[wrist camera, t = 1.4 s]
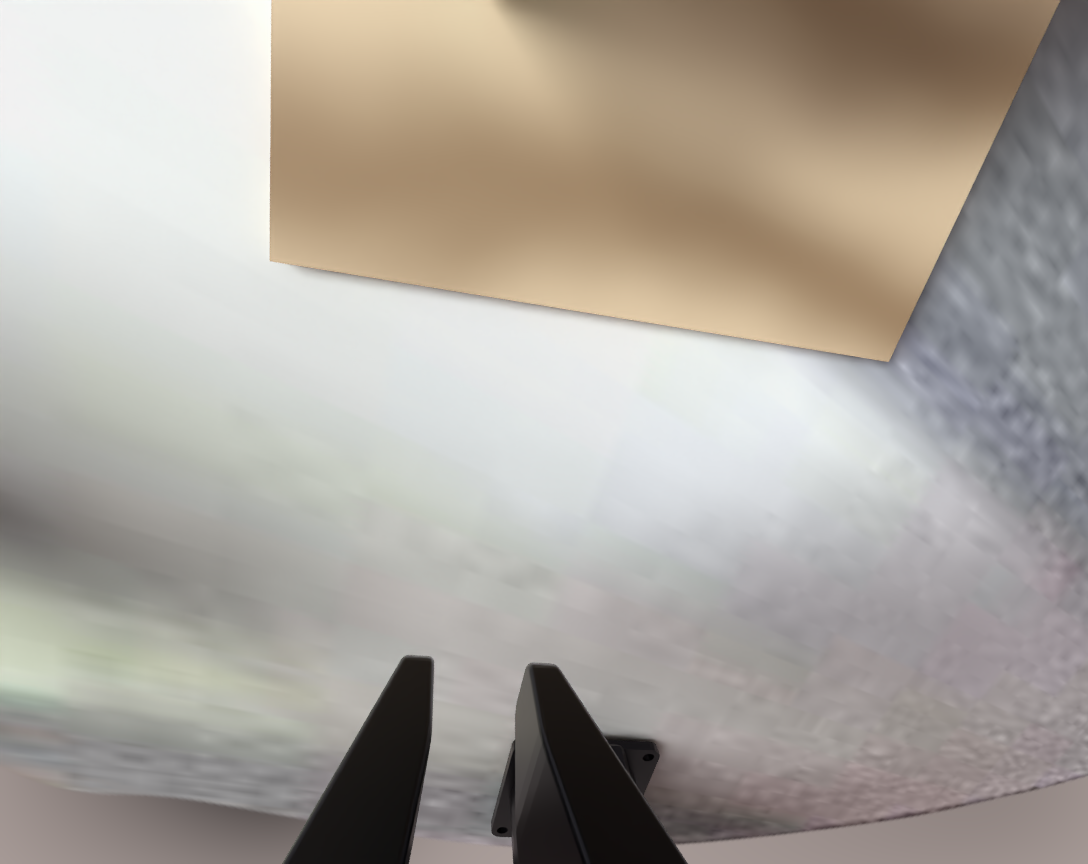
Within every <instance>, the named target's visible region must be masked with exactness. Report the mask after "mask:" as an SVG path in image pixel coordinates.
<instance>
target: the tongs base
mask: <svg viewBox="0 0 1088 864" xmlns="http://www.w3.org/2000/svg"><path fill="white" fill-rule="evenodd" d="M1059 2H1060V0H272V4H271V148H270V261H273V262H279V263H285V264H291V265H297V266H303V267H309V268H315V269H322V270H328V271H334V272H340V273H346V274H352V275H358V276H365V277H371V278H377V279H383V280H389V281H395V282H401V283H408V284H414V285H420V286H426V287H432V288H438V289H444V290H450V291H457V292H463V293H469V294H475V295H481V296H487V297H493V298H500V299H506V300H512V301H518V302H524V303H530V304H536V305H543V306H549V307H555V308H561V309H567V310H573V311H579V312H585V313H592V314H598V315H604V316H610V317H616V318H622V319H628V320H635V321H641V322H647V323H653V324H659V325H665V326H671V327H678V328H684V329H690V330H696V331H702V332H708V333H714V334H720V335H727V336H733V337H739V338H745V339H751V340H757V341H763V342H770V343H776V344H782V345H788V346H794V347H800V348H806V349H812V350H819V351H825V352H831V353H837V354H843V355H849V356H855V357H862V358H868V359H874V360H880V361H886V362H889V360H890V358H891V356H892V354H893V352H894V350H895V348H896V345H897V343H898V341H899V339H900V337H901V335H902V333H903V331H904V329H905V326H906V324H907V322H908V320H909V318H910V316H911V314H912V312H913V310H914V307H915V305H916V303H917V301H918V299H919V297H920V295H921V293H922V291H923V289H924V286H925V284H926V282H927V280H928V278H929V276H930V274H931V272H932V270H933V267H934V265H935V263H936V261H937V259H938V257H939V255H940V253H941V251H942V249H943V246H944V244H945V242H946V240H947V238H948V236H949V234H950V232H951V230H952V227H953V225H954V223H955V221H956V219H957V217H958V215H959V213H960V211H961V208H962V206H963V204H964V202H965V200H966V198H967V196H968V194H969V192H970V190H971V187H972V185H973V183H974V181H975V179H976V177H977V175H978V173H979V171H980V168H981V166H982V164H983V162H984V160H985V158H986V156H987V154H988V152H989V150H990V147H991V145H992V143H993V141H994V139H995V137H996V135H997V133H998V131H999V128H1000V126H1001V124H1002V122H1003V120H1004V118H1005V116H1006V114H1007V112H1008V109H1009V107H1010V105H1011V103H1012V101H1013V99H1014V97H1015V95H1016V93H1017V91H1018V88H1019V86H1020V84H1021V82H1022V80H1023V78H1024V76H1025V74H1026V72H1027V69H1028V67H1029V65H1030V63H1031V61H1032V59H1033V57H1034V55H1035V53H1036V51H1037V48H1038V46H1039V44H1040V42H1041V40H1042V38H1043V36H1044V34H1045V32H1046V29H1047V27H1048V25H1049V23H1050V21H1051V19H1052V17H1053V15H1054V13H1055V10H1056V8H1057V6H1058V4H1059Z"/></svg>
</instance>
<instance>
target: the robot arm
mask: <svg viewBox="0 0 1088 864" xmlns="http://www.w3.org/2000/svg"><path fill="white" fill-rule="evenodd" d="M433 684H434V660H433V658H432V657H430V656H416V655H406V656H404V657H403V658H402V659H401V661H400V662H399V664H398V666H397V668H396V669H395V671H394V673H393V674H392V676H391V678H390V680H389V681H388V683H387V685H386V686H385V688H384V690H383V692H382V693H381V695H380V697H379V698H378V700H377V702H376V704H375V705H374V707H373V709H372V710H371V712H370V714H369V716H368V717H367V719H366V721H365V722H364V724H363V726H362V728H361V729H360V731H359V733H358V734H357V736H356V738H355V740H354V741H353V743H352V745H351V746H350V748H349V750H348V752H347V753H346V755H345V757H344V759H343V760H342V762H341V764H340V765H339V767H338V769H337V771H336V772H335V774H334V776H333V777H332V779H331V781H330V783H329V784H328V786H327V788H326V789H325V791H324V793H323V795H322V796H321V798H320V800H319V801H318V803H317V805H316V807H315V808H314V810H313V812H312V813H311V815H310V817H309V819H308V820H307V822H306V824H305V825H304V827H303V829H302V831H301V832H300V834H299V836H298V838H297V839H296V841H295V843H294V845H293V846H292V848H291V850H290V851H289V853H288V855H287V856H286V858H285V860H284V862H283V863H282V864H409V860H410V855H411V850H412V844H413V839H414V833H415V827H416V822H417V816H418V811H419V805H420V800H421V794H422V788H423V783H424V777H425V772H426V766H427V760H428V755H429V749H430V743H431V735H432V716H433ZM659 756H660V755H659V751H658V748H657V745H656V744H655V743H652V742H640V741H616V740H606V738H605V737H604V735H603V734H602V732H601V731H600V729H599V728H598V726H597V725H596V723H595V722H594V720H593V719H592V717H591V716H590V714H589V713H588V711H587V710H586V708H585V707H584V705H583V704H582V702H581V700H580V699H579V697H578V696H577V694H576V693H575V691H574V690H573V688H572V687H571V685H570V684H569V682H568V681H567V679H566V678H565V676H564V675H563V673H562V672H561V670H560V669H559V667H558V666H556V665H555V664H547V663H530V664H528V666H527V667H526V669H525V673H524V677H523V681H522V684H521V688H520V692H519V696H518V700H517V705H516V714H515V740H514V741H513V743H512V746H511V750H510V753H509V757H508V761H507V765H506V768H505V772H504V776H503V780H502V783H501V787H500V791H499V795H498V798H497V802H496V806H495V809H494V813H493V817H492V821H491V829H492V834H493V835H495V836H498V837H512V850H513V864H688V863H687V862H686V860H685V859H684V858H683V856H682V854H681V853H680V851H679V850H678V848H677V847H676V845H675V843H674V842H673V840H672V839H671V837H670V836H669V834H668V833H667V831H666V830H665V828H664V827H663V825H662V824H661V822H660V821H659V819H658V818H657V816H656V815H655V813H654V812H653V810H652V808H651V807H650V805H649V804H648V802H647V801H646V799H645V798H644V796H643V794H644V792H645V790H646V787H647V785H648V783H649V780H650V778H651V776H652V774H653V771H654V769H655V767H656V764H657V762H658V760H659Z"/></svg>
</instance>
